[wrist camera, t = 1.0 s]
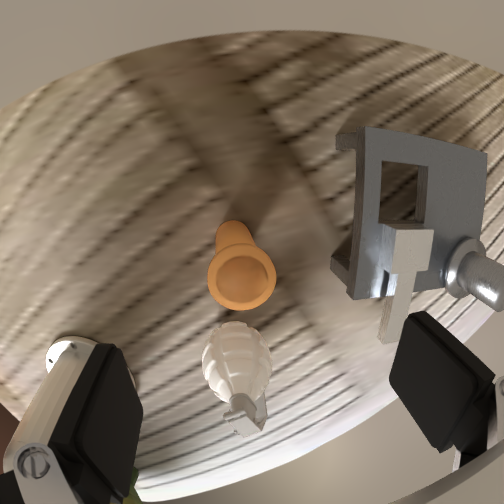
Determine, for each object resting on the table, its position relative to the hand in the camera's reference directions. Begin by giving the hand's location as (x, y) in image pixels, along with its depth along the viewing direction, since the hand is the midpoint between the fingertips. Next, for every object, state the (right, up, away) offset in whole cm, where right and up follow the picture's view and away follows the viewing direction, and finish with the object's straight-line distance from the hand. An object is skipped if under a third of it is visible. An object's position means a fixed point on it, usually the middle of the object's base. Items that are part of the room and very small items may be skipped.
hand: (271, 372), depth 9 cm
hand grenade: (-2, -5, +22) cm, 23 cm away
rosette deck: (+15, +7, +20) cm, 26 cm away
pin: (-2, +5, +19) cm, 19 cm away
